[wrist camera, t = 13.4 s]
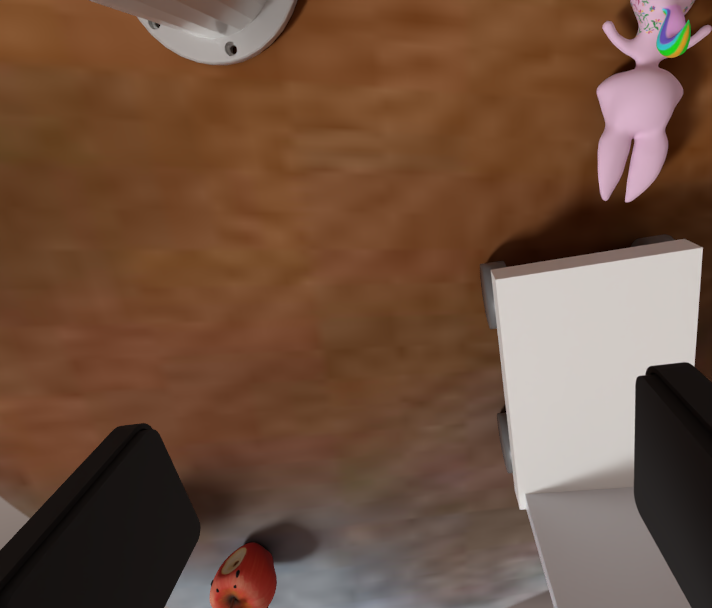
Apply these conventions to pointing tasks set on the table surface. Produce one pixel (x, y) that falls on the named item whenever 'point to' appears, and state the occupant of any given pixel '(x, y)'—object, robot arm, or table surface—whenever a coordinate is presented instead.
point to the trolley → (590, 407)
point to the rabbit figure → (642, 95)
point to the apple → (245, 579)
